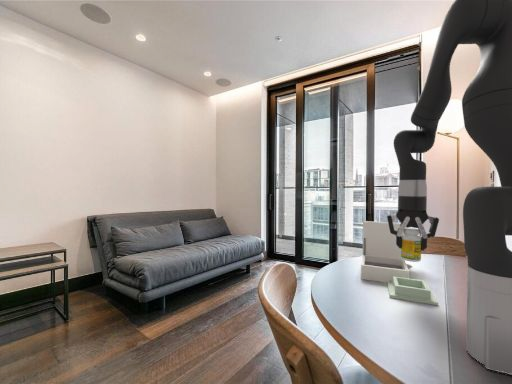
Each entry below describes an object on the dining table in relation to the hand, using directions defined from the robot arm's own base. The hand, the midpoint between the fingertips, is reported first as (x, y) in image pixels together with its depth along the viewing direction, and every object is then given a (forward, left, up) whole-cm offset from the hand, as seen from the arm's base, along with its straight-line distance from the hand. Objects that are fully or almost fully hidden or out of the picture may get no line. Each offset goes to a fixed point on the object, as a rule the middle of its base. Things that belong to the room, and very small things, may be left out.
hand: (411, 248), depth 77 cm
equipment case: (+15, +7, -14) cm, 22 cm away
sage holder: (0, 0, -14) cm, 14 cm away
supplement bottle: (0, 0, -4) cm, 4 cm away
